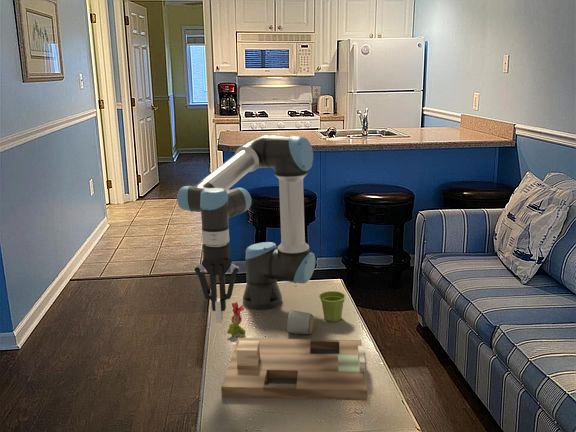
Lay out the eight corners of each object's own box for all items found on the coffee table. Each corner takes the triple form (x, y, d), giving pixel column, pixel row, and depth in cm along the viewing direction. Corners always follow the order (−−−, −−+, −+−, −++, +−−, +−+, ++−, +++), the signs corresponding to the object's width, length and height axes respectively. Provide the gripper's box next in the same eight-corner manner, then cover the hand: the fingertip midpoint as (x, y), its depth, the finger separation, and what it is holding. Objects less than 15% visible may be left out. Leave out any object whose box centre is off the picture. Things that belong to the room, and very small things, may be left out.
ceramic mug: (310, 338, 185) (310, 317, 183) (286, 336, 186) (286, 315, 185) (315, 325, 195) (315, 304, 193) (292, 323, 196) (292, 303, 195)
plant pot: (326, 326, 194) (326, 302, 192) (315, 315, 202) (314, 293, 200) (350, 321, 197) (350, 298, 195) (337, 311, 206) (337, 289, 204)
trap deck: (238, 346, 180) (237, 329, 179) (361, 348, 177) (361, 331, 176) (221, 396, 152) (220, 376, 151) (366, 400, 149) (367, 380, 148)
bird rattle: (226, 335, 193) (227, 336, 184) (225, 302, 195) (225, 302, 186) (244, 333, 194) (246, 334, 185) (243, 301, 195) (244, 301, 187)
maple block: (240, 355, 168) (239, 340, 167) (259, 355, 168) (259, 340, 166) (237, 365, 162) (236, 350, 161) (257, 366, 162) (256, 350, 161)
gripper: (190, 247, 153) (194, 325, 159) (236, 247, 153) (239, 326, 158) (196, 239, 161) (200, 315, 166) (240, 239, 160) (243, 315, 165)
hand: (219, 320), depth 162 cm, fingers closed
